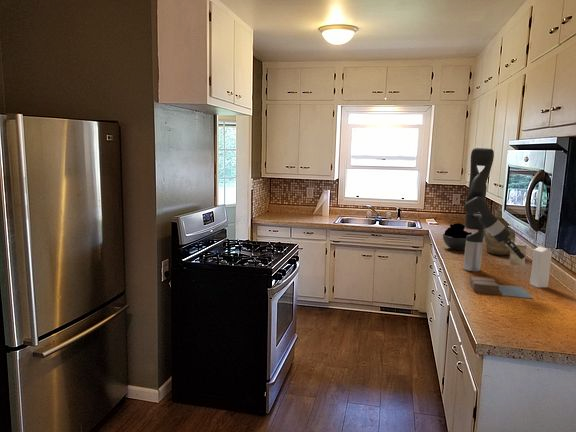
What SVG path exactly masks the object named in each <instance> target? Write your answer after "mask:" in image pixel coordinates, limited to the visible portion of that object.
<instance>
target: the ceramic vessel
mask: <svg viewBox="0 0 576 432" xmlns="http://www.w3.org/2000/svg"><path fill="white" fill-rule="evenodd" d="M502 211H503V210H494V216H495V217H496V218H497V219H498V220H499V221H500V222H501V223H502V224H503V225H504V226H505V227H506V228H507V229H508V231H509V232H510V233H511V234H510V236H509V237H508V238H510V239H512V240H513V242H514V243H515V241H516V232H515V230H514V229H513V228H511V227H509V226H511V225H509V224H508V223H507V222H506V221H505V220H504V219H503V218H502ZM483 240H484V242H485V249H486V251H487V253H489V254H490V253H491V255H493V254H494V255H495V256H502V257H503V256H508V255H510V249H509V248H508V247H507V246H506V245H505V244H504V242H503V241H502V242H497V241H496V240H495V239H494V238H493V237H492V236H491V234H490V233H489V232H488V231H487V229H486V230H484V235H483ZM494 255H493V256H494Z"/></svg>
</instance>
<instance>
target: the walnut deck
mask: <svg viewBox="0 0 576 432" xmlns="http://www.w3.org/2000/svg"><path fill="white" fill-rule="evenodd" d="M498 285H499V284H498V283H497V282H496V280H495V279H494V278H493V277H484V276H473V275H470V276H469V286H470V287H471V289H472V290H473V292H474V293H480V292H482V294H483V293H484V294H490V293H492V294H493V295H499V292H500V291H499V286H498ZM492 294H491V295H492Z"/></svg>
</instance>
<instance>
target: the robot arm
mask: <svg viewBox="0 0 576 432" xmlns="http://www.w3.org/2000/svg"><path fill="white" fill-rule="evenodd" d="M494 158H495V152H494V149H493V148H486V147H485V148H483V147H474V148H473V149H472V150H471V153H470V171H469V182H468V189H467V190H468V191H467V197H466V199H465V202H464V211H465V213H466V214H465V219H464V226H465V228H466V229H468V230H474V231H475V230H477V232H473V233H472V234H470V235H467V236H466V245H465V249H464V255H463V256H464V257H463V265H462V267H463V270H465V271H469V272H480V271H481V265H482V253H483V244H484V238H483V235H484V231H485V229H486V230H487V231H488V232H489V233H490V234H491V236H492V237H493V238H494V239H495V240H496V241H497V242H502V241H503V242H504V244H505V245H506V246H507V247H508V248H509V249H510V250H513V251H514V250H515V249H516V248H517V245H516V244H517V243H515V242H513V240H512V239H510V238H508V237H509V236H510V234H511V233H510V232H509V231H508V229H507V228H506V227H505V226H504V225H503V224H502V223H501V222H500V221H499V220H498V219H497V218H496V217H495V214H493V213H492V210H491V208H490V207H489V205H488V203H487V201H486V200H485V198H486V196H487V188H488V186H487V183H488V179H489V176H490V173H491V171H492V166H493V163H494ZM478 166H479V167H483V168H482V170H481V171H480V170H479V169H478ZM479 171H480V172H479ZM514 253H515V254H517V255H518V257H519V258H520V259H523V258H524V257H525V258H526V256H524V255H523V254H522V253H521V252H520V249H518V248H517V250H516V251H514Z"/></svg>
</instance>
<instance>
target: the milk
mask: <svg viewBox="0 0 576 432" xmlns="http://www.w3.org/2000/svg"><path fill="white" fill-rule="evenodd" d="M552 256H553V251H552V250H550V249H549V247H548V248H545V247H543V246H542V245H538V247H536V248H534V249H533V256H532V263H531V264H532V265H531V270H530V271H531V272H530V279H529V285H531V286H533V287H535V288H548V286H549V281H550V272H551V265H552Z"/></svg>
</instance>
